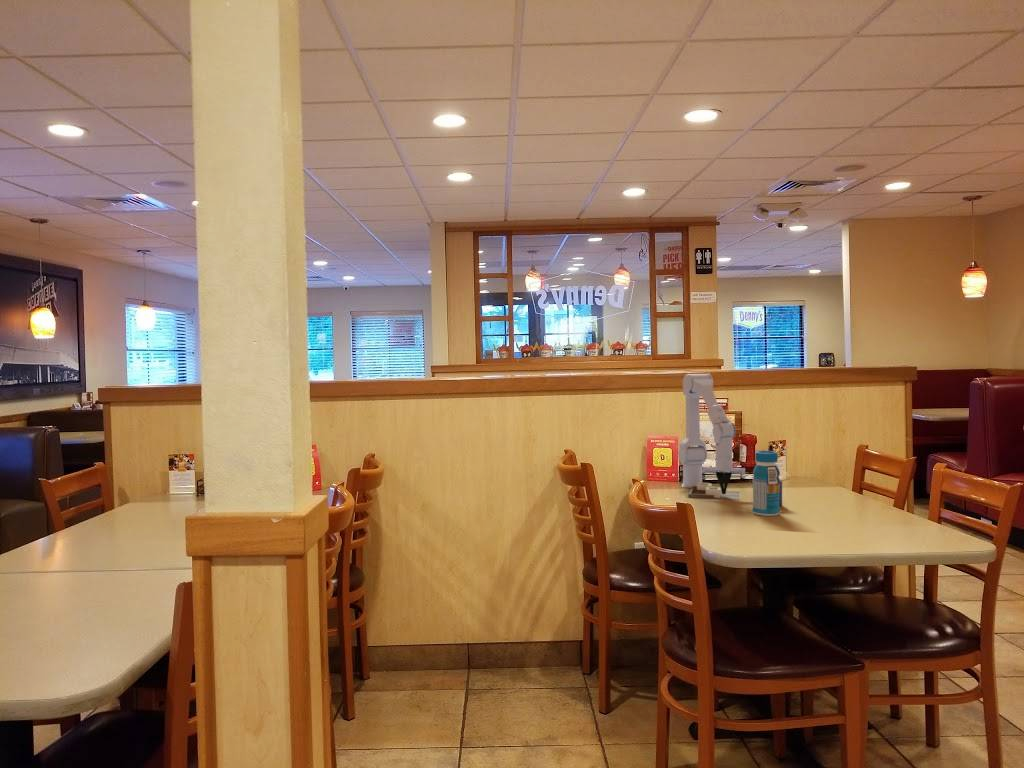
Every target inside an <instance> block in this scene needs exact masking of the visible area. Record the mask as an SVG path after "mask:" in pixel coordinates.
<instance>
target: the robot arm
mask: <svg viewBox="0 0 1024 768" xmlns="http://www.w3.org/2000/svg"><path fill="white" fill-rule="evenodd" d="M713 388H714V378H713V376H712V375H711V374H710V373H686V374H685V375H684V376H683V378H682V394H683V395H684V396H685V433H686V434H685V436H686V437H685V439H683V440H682V441H681V442H680V443H679V448H678V453H677V455H678V460H679V461H680V463H681V464H682V470H683V471H682V484H681V488H686V489H687V488H690V489H691V487H692V486H697V484H698V483H702V482H703V474H715V476H716V478H717V481H718V483H719V486H720V487H719V488H721V491H722V494H726V491H727V488H728V485H729V482H730V480H731V477H732V475H744V476H745V475H746V468H745V467H743V468H742V467H733V438H735V437H736V433H737V428H736V425H735V423H734V421H731V420H730V419H728V417H727V415H726V412H725V410H724V407H723V406H721V405H720V404H718V401H717V399H716V396H715V393H714V390H713ZM700 398H702V399H703V401H704V403H705V404H706V407H707V408H708V410H707V415H708V417H709V420H710V422H711V424H712V436H713V441H714V443H715V466H703V465H704V464H705V462H706V461H707V459H708V450H707V446H706V445H707V444H706V443H705V442H704V441H703V440H702V439H701V438H700V436H701V433H700V432H701V431H700V430H701V429H700V428H701V427H700V426H701V425H700Z"/></svg>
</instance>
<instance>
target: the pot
mask: <svg viewBox="0 0 1024 768" xmlns="http://www.w3.org/2000/svg"><path fill="white" fill-rule="evenodd" d="M706 495H714V498H720V496H721V487H718V486H712V487H706Z"/></svg>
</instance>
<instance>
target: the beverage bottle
mask: <svg viewBox="0 0 1024 768" xmlns="http://www.w3.org/2000/svg"><path fill="white" fill-rule="evenodd" d="M754 454H755V457H754V459H755V463H757V464H756V465H755V466H754V468H753V470H752V474H753V477H752V480H751V481H752V505H753V506H752V513H753V514H755V515H757V516H763V517H775V516H779V515H780V506H779V487H780V480H781V479H780V474H781V473H780V469H779V467H778V466H777V463H778V459H779V458H778V452H777V451H773V450H758V451H755V453H754Z"/></svg>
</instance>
